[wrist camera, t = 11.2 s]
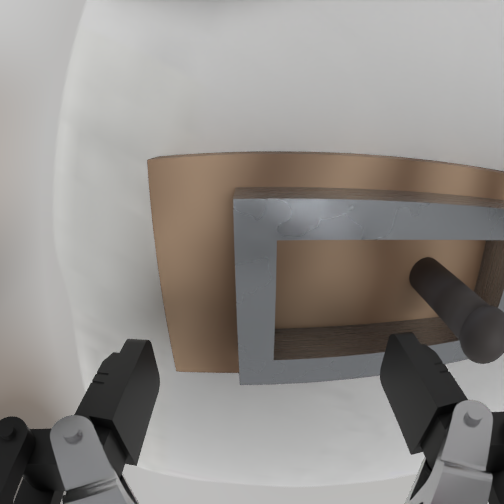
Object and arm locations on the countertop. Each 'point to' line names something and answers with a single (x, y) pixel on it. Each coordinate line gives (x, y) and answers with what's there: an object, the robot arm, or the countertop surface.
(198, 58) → the countertop surface
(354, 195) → the grey picture frame
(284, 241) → the board
